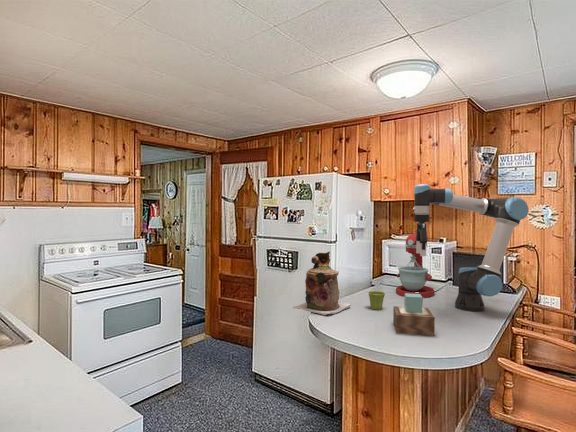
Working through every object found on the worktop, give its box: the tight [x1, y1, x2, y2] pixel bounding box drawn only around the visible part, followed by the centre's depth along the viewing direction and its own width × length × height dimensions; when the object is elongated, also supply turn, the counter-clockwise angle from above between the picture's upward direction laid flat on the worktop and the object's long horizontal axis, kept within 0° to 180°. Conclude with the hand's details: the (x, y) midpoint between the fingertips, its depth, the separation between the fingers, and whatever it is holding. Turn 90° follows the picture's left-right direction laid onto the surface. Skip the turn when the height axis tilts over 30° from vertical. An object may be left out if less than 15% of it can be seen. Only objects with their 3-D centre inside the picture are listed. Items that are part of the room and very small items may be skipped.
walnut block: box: [392, 305, 436, 337], centre depth 171 cm, size 16×16×8 cm
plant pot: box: [367, 290, 386, 311], centre depth 207 cm, size 9×9×9 cm
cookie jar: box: [292, 251, 352, 316], centre depth 206 cm, size 25×25×32 cm
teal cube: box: [403, 293, 424, 313], centre depth 171 cm, size 7×7×7 cm
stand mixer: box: [395, 233, 435, 298], centre depth 247 cm, size 24×32×40 cm
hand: (421, 254), depth 194 cm, fingers open, 13 cm apart
